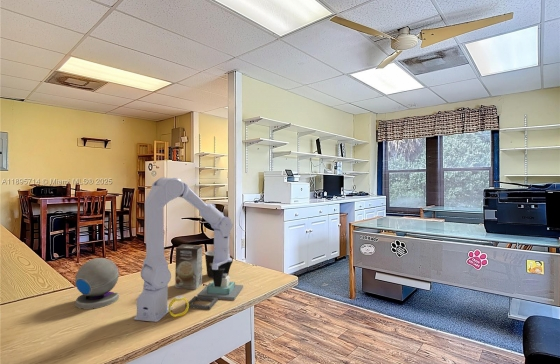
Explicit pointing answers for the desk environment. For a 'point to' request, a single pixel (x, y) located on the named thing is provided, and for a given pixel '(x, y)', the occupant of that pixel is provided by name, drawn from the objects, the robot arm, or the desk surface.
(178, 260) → the coffee box
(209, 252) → the coffee mug
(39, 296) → the desk surface
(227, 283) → the plug
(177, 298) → the watch
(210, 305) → the tray
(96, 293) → the webcam
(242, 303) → the desk surface
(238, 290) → the dock
